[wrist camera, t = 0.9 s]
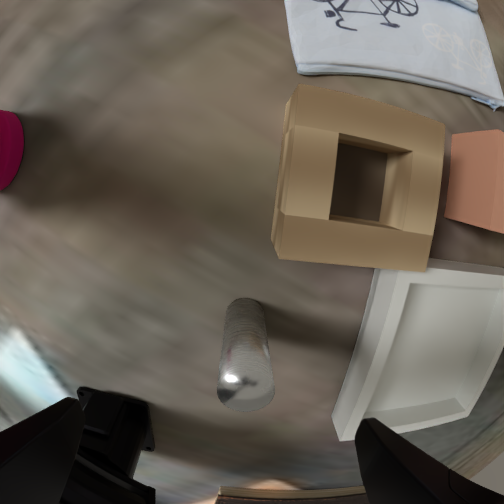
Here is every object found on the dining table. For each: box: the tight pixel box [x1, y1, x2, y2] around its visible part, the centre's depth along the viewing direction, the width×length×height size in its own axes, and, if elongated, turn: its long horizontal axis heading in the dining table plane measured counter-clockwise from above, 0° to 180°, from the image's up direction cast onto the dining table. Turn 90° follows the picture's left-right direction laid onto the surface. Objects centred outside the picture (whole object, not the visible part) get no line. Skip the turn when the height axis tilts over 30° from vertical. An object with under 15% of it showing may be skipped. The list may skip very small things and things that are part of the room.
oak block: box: [271, 84, 445, 272], centre depth 15 cm, size 8×8×4 cm
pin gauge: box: [217, 298, 275, 412], centre depth 15 cm, size 2×2×8 cm
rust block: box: [444, 129, 504, 234], centre depth 15 cm, size 6×6×5 cm
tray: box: [331, 258, 504, 441], centre depth 19 cm, size 14×14×3 cm
